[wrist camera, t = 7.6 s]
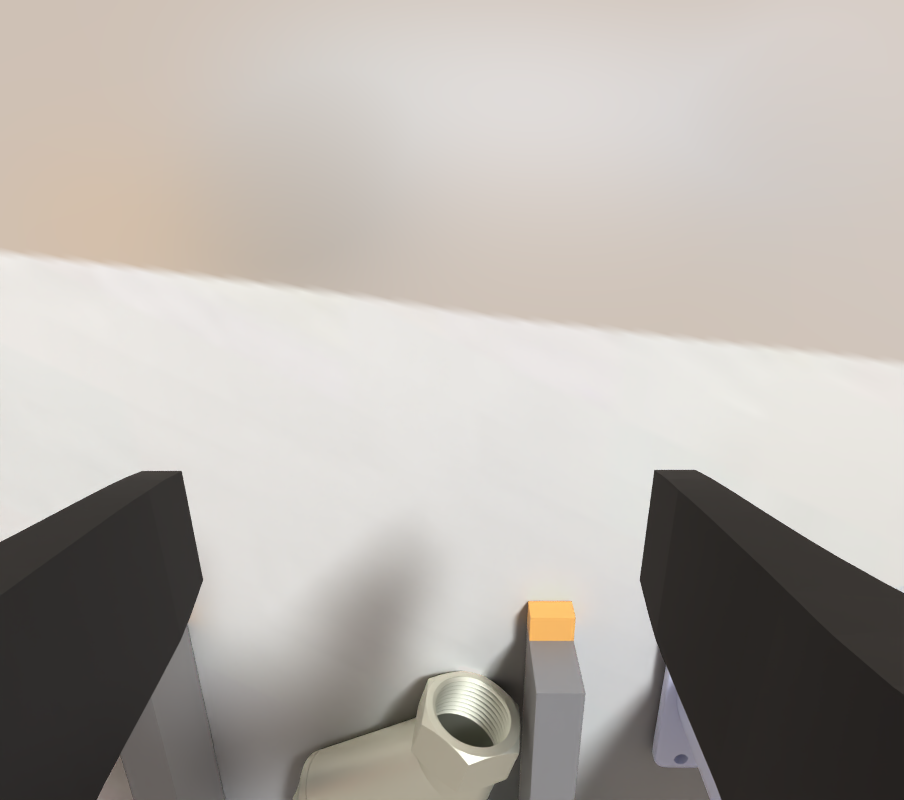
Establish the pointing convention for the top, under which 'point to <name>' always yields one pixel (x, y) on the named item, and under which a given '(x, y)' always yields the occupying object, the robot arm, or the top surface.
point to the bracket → (542, 741)
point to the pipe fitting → (425, 749)
